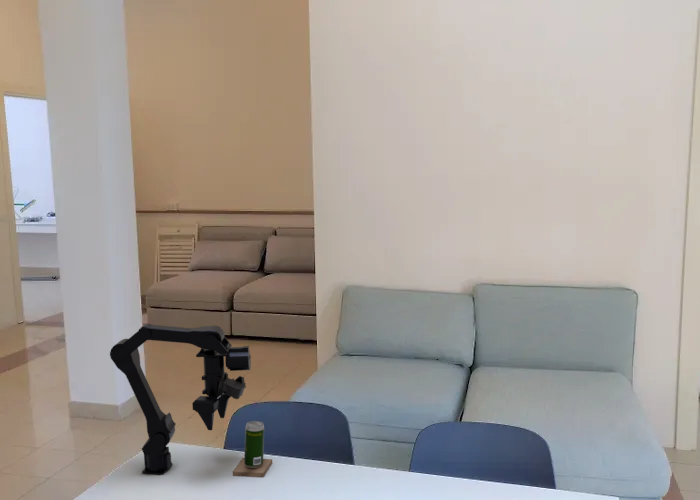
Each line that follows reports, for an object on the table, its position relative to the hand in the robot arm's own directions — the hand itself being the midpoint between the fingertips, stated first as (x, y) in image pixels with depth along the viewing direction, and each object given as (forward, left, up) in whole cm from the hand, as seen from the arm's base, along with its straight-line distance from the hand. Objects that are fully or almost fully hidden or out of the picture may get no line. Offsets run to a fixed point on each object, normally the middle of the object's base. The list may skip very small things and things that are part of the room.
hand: (216, 423), depth 184 cm
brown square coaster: (+10, 0, -14) cm, 17 cm away
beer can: (+11, 0, -12) cm, 16 cm away
